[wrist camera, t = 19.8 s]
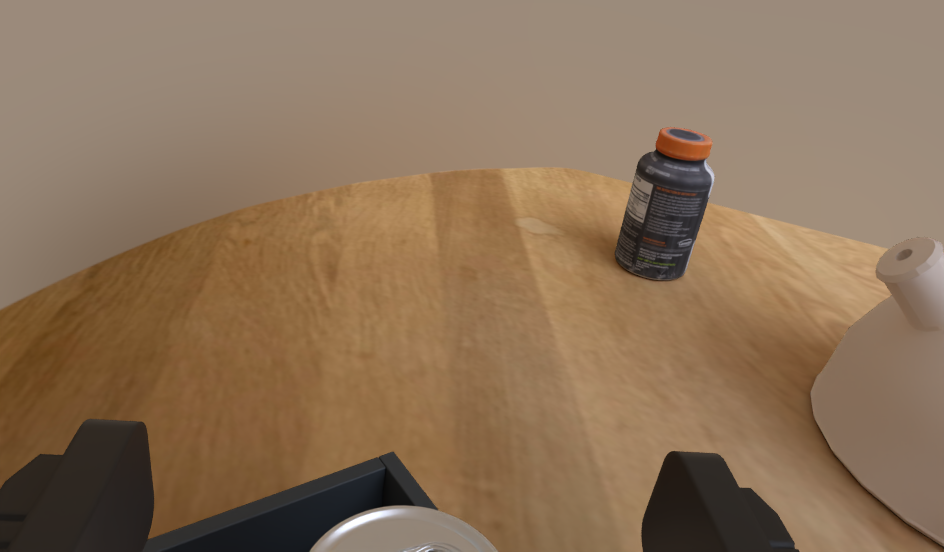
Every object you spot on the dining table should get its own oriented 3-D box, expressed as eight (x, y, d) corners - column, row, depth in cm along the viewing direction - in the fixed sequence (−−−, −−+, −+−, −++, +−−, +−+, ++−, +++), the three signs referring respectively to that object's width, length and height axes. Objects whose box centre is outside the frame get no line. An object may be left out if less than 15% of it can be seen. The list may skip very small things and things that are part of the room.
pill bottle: (694, 266, 59) (736, 137, 54) (670, 291, 55) (714, 153, 50) (629, 241, 62) (663, 116, 57) (601, 263, 58) (636, 129, 52)
